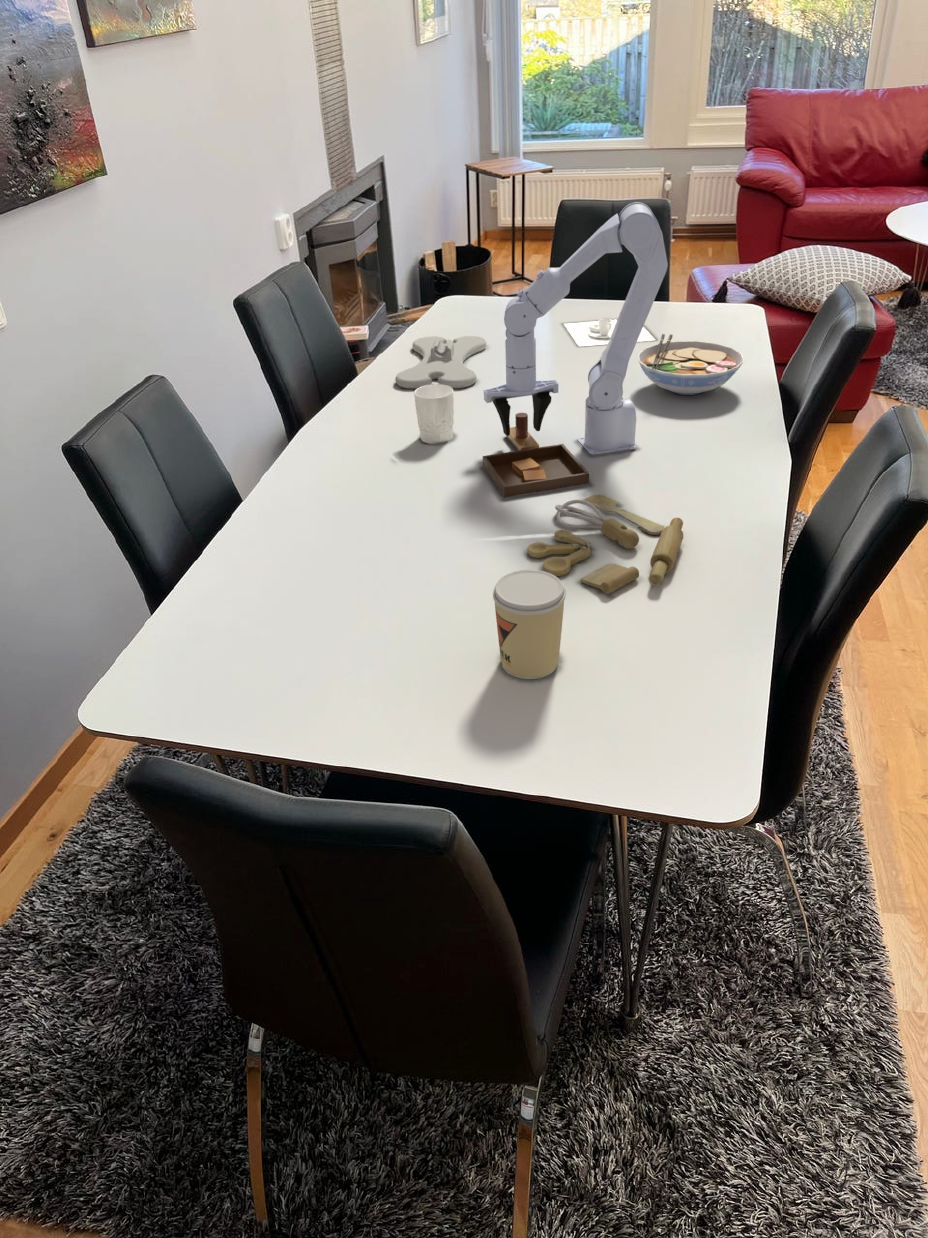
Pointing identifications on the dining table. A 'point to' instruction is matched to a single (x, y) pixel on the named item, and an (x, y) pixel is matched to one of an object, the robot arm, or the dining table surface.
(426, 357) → the holder
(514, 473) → the tray
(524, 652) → the lidded cream canister
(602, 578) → the toy baking set
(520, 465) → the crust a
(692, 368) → the ramen bowl
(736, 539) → the dining table surface
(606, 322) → the teacup and saucer
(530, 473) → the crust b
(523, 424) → the wooden stamp
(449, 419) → the white cup
